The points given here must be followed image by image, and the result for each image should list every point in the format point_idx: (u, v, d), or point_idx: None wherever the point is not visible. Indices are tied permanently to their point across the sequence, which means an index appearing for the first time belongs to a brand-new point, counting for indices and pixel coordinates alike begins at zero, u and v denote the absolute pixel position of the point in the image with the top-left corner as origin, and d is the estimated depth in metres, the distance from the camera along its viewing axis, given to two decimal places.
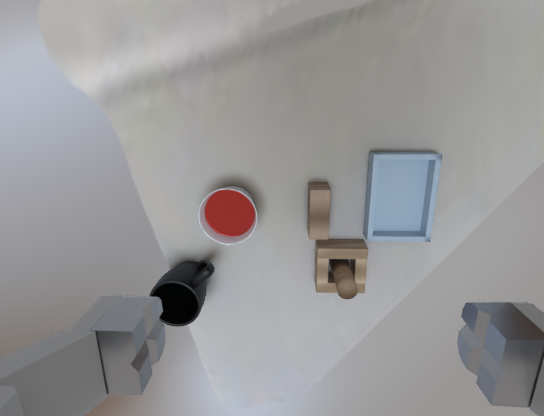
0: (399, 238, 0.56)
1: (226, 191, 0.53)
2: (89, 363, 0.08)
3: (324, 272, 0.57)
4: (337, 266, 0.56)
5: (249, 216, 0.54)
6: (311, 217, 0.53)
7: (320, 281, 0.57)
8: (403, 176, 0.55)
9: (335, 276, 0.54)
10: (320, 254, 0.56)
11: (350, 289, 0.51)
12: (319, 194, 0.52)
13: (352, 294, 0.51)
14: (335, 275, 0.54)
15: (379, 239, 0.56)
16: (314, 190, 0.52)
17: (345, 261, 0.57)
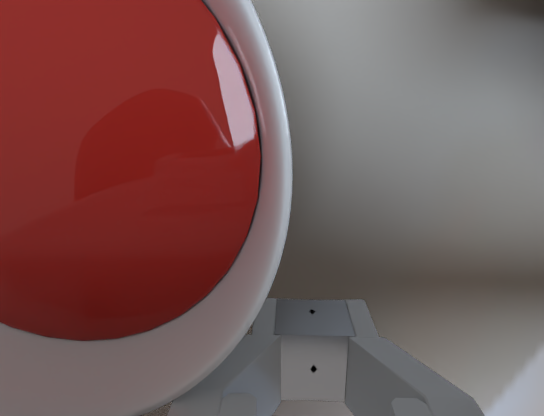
0: None
1: None
2: (275, 368, 0.07)
3: None
4: None
5: None
6: None
7: None
8: None
9: None
10: None
11: None
12: None
13: None
14: None
15: None
16: None
17: None
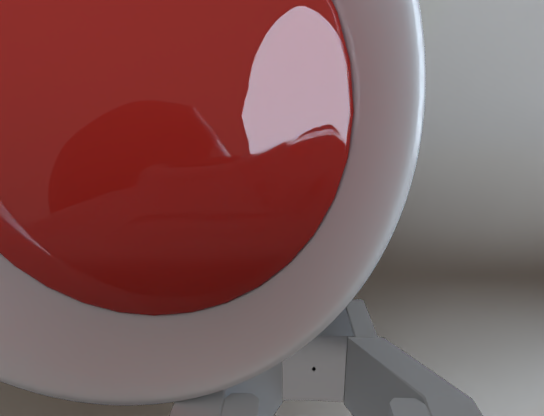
0: None
1: None
2: (276, 368, 0.07)
3: None
4: None
5: None
6: None
7: None
8: None
9: None
10: None
11: None
12: None
13: None
14: None
15: None
16: None
17: None
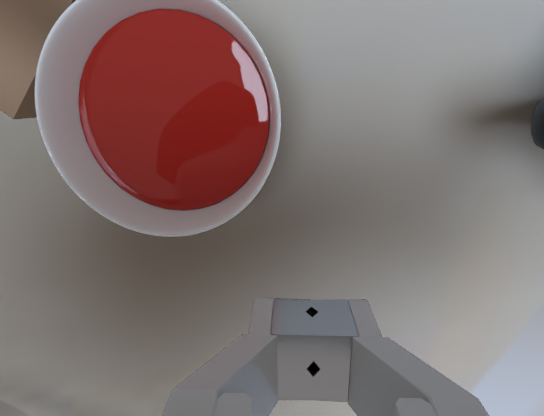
0: None
1: (119, 177, 0.15)
2: (271, 368, 0.07)
3: None
4: None
5: (126, 45, 0.13)
6: (54, 19, 0.13)
7: None
8: None
9: None
10: None
11: None
12: None
13: None
14: None
15: None
16: (3, 107, 0.14)
17: None
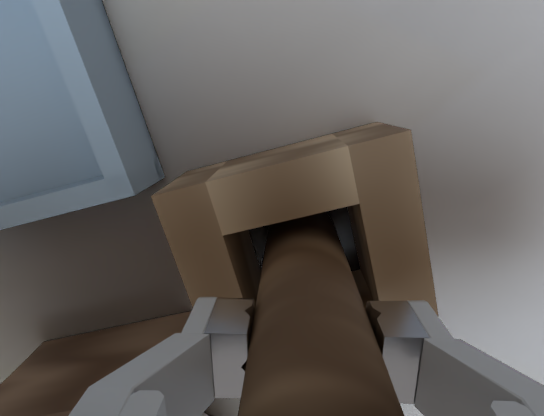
0: (59, 41, 0.10)
1: None
2: (203, 366, 0.07)
3: None
4: None
5: None
6: None
7: None
8: None
9: None
10: None
11: None
12: None
13: None
14: None
15: (105, 141, 0.11)
16: None
17: (264, 258, 0.12)
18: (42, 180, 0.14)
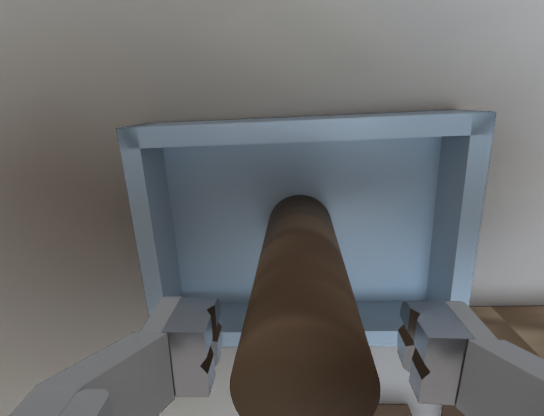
0: (466, 238, 0.14)
1: None
2: (161, 365, 0.07)
3: None
4: None
5: None
6: None
7: None
8: (234, 216, 0.17)
9: None
10: None
11: (296, 377, 0.07)
12: None
13: (328, 357, 0.07)
14: None
15: None
16: None
17: None
18: None
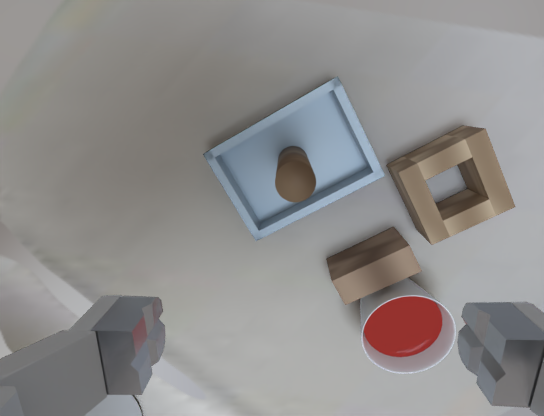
0: (357, 129, 0.31)
1: (368, 334, 0.36)
2: (89, 363, 0.08)
3: (470, 213, 0.32)
4: None
5: (401, 297, 0.34)
6: (385, 284, 0.33)
7: (491, 211, 0.32)
8: (263, 171, 0.35)
9: None
10: (440, 236, 0.33)
11: (291, 179, 0.25)
12: (345, 291, 0.34)
13: (296, 169, 0.25)
14: None
15: (373, 158, 0.32)
16: (343, 299, 0.34)
17: None
18: (329, 182, 0.35)
